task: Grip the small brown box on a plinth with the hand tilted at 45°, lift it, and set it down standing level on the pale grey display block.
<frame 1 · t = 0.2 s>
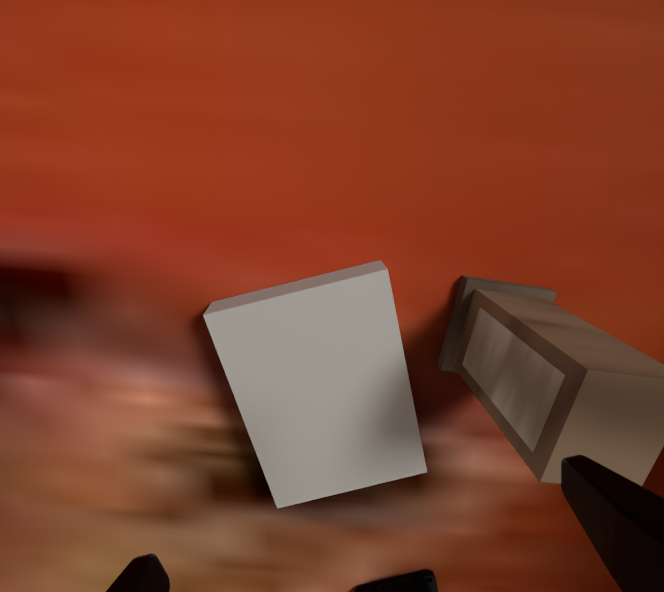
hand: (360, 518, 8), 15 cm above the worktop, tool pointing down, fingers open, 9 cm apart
brown box on plinth: (491, 327, 24), on the worktop
display block: (324, 383, 24), on the worktop
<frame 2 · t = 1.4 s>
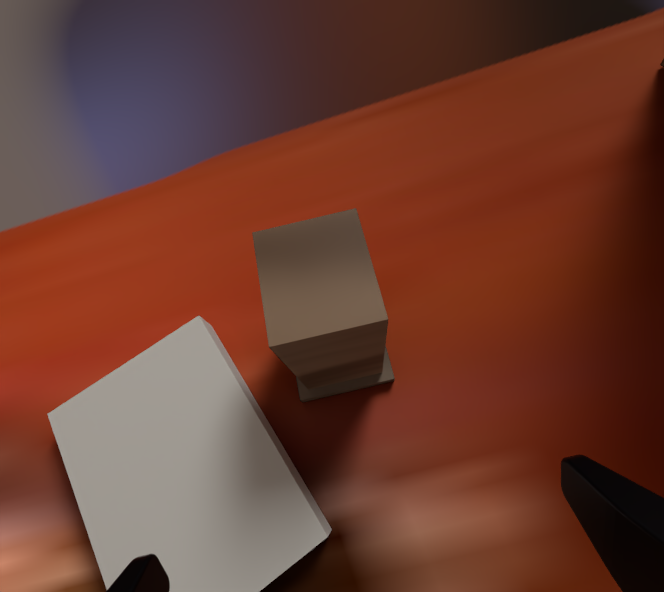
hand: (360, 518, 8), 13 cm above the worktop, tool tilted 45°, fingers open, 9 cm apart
brown box on plinth: (337, 344, 24), on the worktop
display block: (191, 468, 22), on the worktop
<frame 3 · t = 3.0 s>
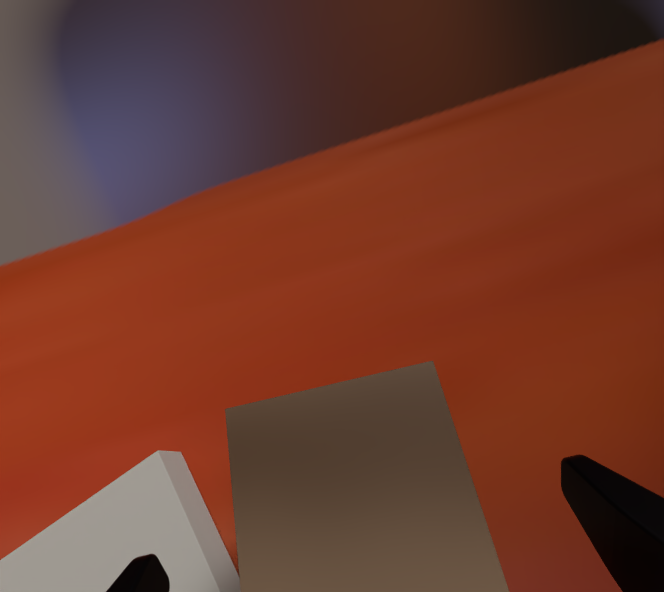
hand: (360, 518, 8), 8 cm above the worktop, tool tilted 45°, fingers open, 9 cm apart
brown box on plinth: (366, 489, 16), on the worktop
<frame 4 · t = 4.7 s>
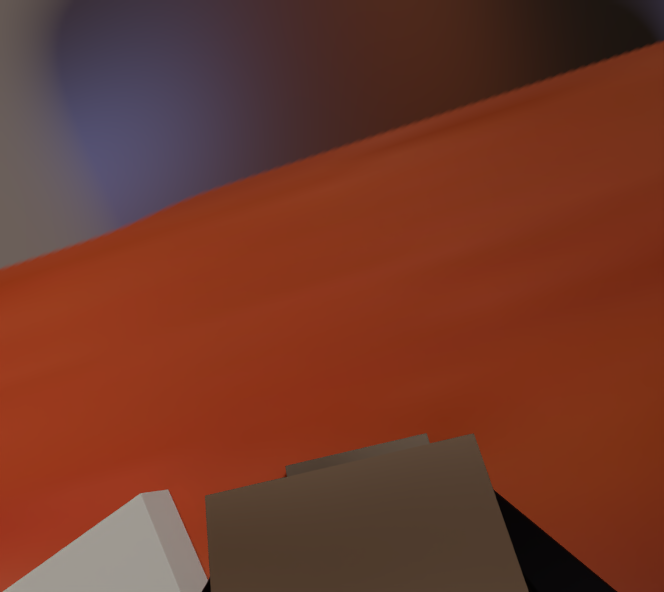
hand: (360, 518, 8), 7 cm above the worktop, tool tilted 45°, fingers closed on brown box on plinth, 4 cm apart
brown box on plinth: (375, 535, 14), on the worktop, touching gripper
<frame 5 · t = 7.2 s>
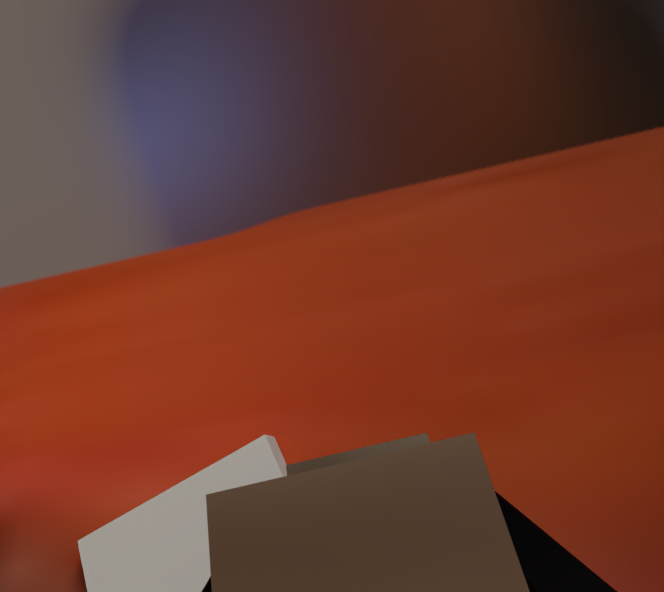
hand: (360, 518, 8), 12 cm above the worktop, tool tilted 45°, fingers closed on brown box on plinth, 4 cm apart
brown box on plinth: (375, 534, 14), point 5 cm above the worktop, touching gripper
when the fingers open (10 cm above the worktop, at t = 9.9 s): brown box on plinth stays where it is, resting on display block.
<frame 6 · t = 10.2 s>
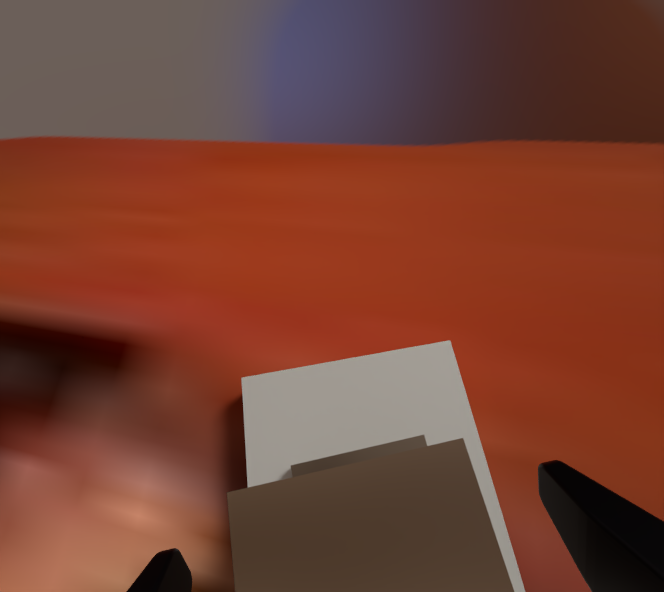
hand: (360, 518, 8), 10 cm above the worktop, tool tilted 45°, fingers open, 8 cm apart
brown box on plinth: (375, 530, 15), point 2 cm above the worktop, touching display block
display block: (374, 522, 17), on the worktop
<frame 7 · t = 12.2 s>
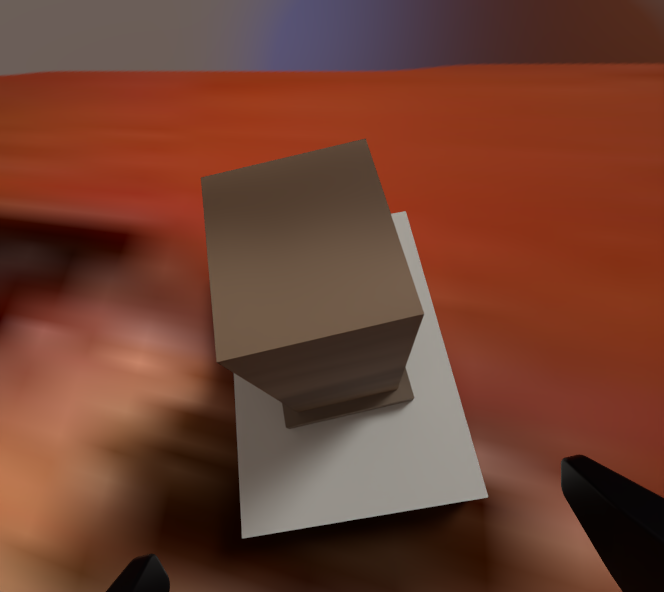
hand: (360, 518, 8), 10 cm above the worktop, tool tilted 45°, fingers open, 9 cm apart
brown box on plinth: (336, 350, 18), point 2 cm above the worktop, touching display block
display block: (339, 360, 20), on the worktop
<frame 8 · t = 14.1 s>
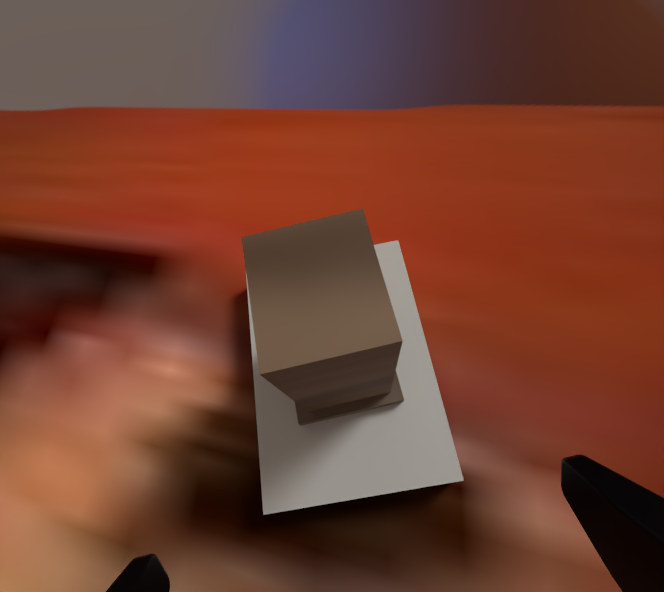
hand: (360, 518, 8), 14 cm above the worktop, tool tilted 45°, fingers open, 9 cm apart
brown box on plinth: (339, 360, 21), point 2 cm above the worktop, touching display block
display block: (342, 368, 23), on the worktop
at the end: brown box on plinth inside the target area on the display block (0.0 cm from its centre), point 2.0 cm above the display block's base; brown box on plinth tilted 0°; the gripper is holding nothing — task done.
